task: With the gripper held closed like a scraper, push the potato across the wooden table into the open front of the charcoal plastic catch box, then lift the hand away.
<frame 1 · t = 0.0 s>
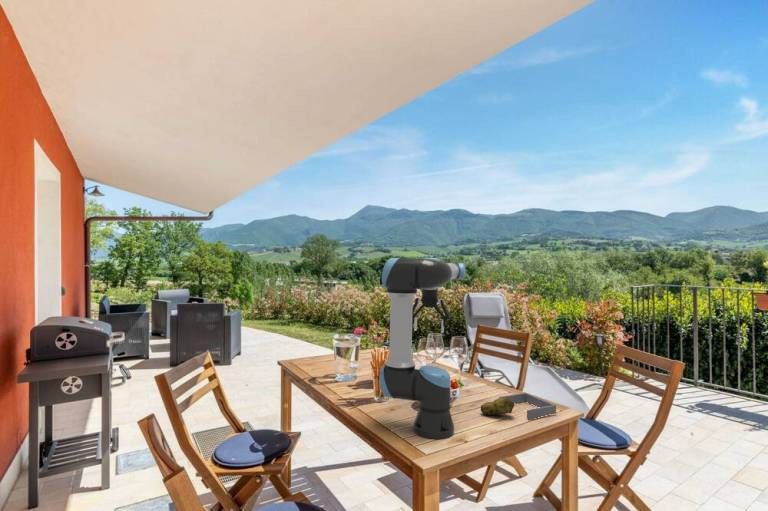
hand: (428, 331, 211), 28 cm above the table, tool pointing down, fingers open, 13 cm apart
catch box: (530, 409, 185), on the table
potato: (497, 416, 177), on the table
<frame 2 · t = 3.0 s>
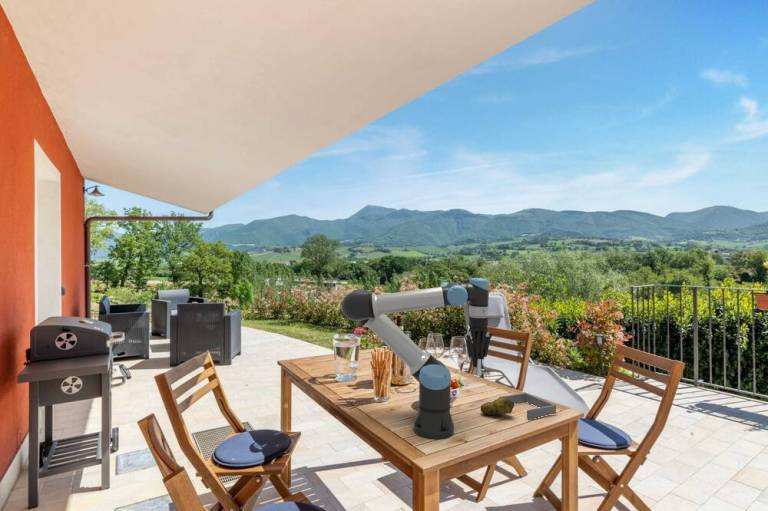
hand: (477, 374, 172), 18 cm above the table, tool pointing down, fingers closed
nothing on the table moved.
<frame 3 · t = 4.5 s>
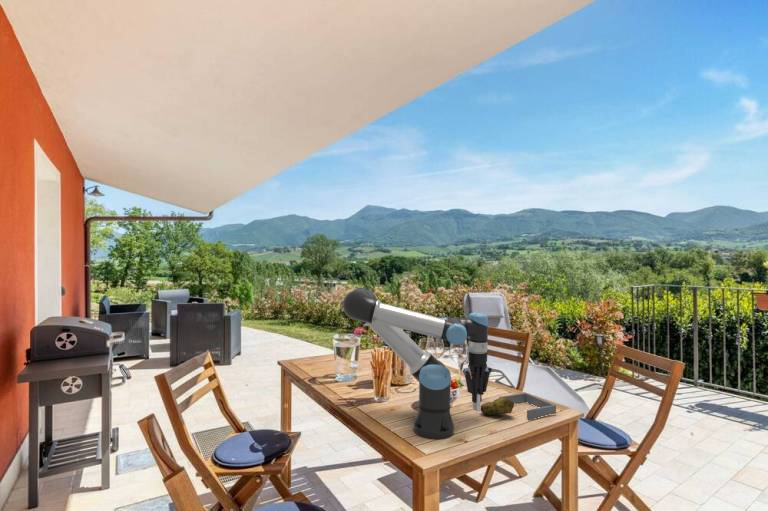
hand: (476, 409, 172), 4 cm above the table, tool pointing down, fingers closed
nothing on the table moved.
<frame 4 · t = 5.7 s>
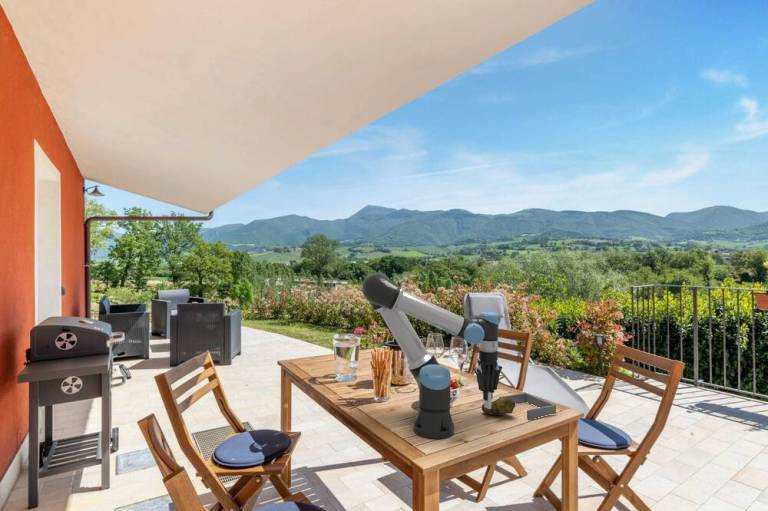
hand: (487, 407, 175), 4 cm above the table, tool pointing down, fingers closed
potato: (498, 416, 177), on the table, touching gripper
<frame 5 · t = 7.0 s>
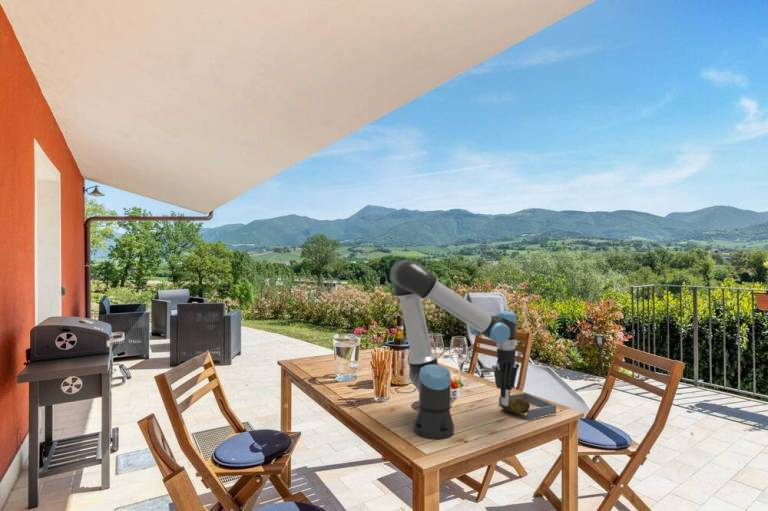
hand: (504, 404, 179), 4 cm above the table, tool pointing down, fingers closed
potato: (515, 414, 179), on the table, touching gripper
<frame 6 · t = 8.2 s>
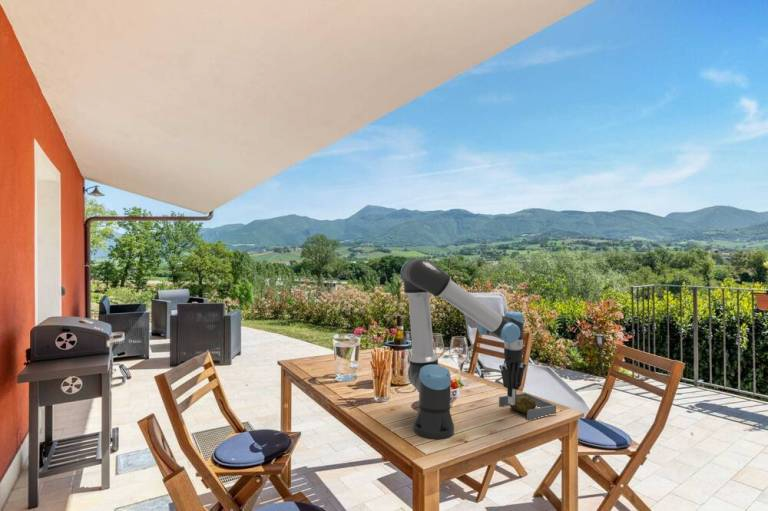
hand: (511, 403, 181), 4 cm above the table, tool pointing down, fingers closed
potato: (522, 413, 181), on the table, touching catch box, gripper
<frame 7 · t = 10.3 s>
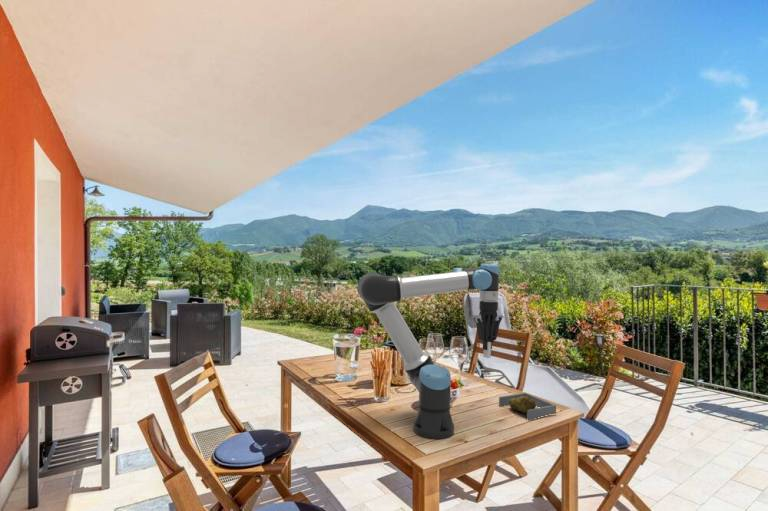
hand: (487, 357, 178), 24 cm above the table, tool pointing down, fingers closed
potato: (522, 413, 181), on the table
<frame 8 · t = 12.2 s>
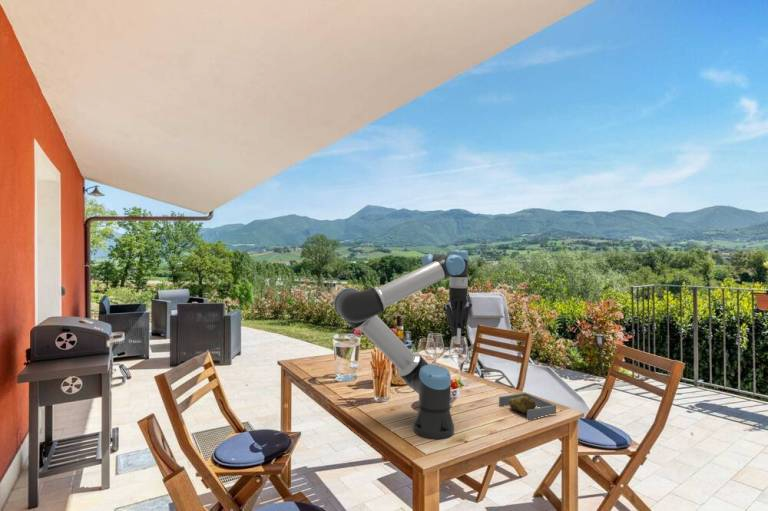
hand: (457, 343, 178), 29 cm above the table, tool pointing down, fingers closed
nothing on the table moved.
at the end: potato 6.7 cm from the catch box (horizontally); potato moved 12.1 cm from its start; the gripper is holding nothing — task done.
